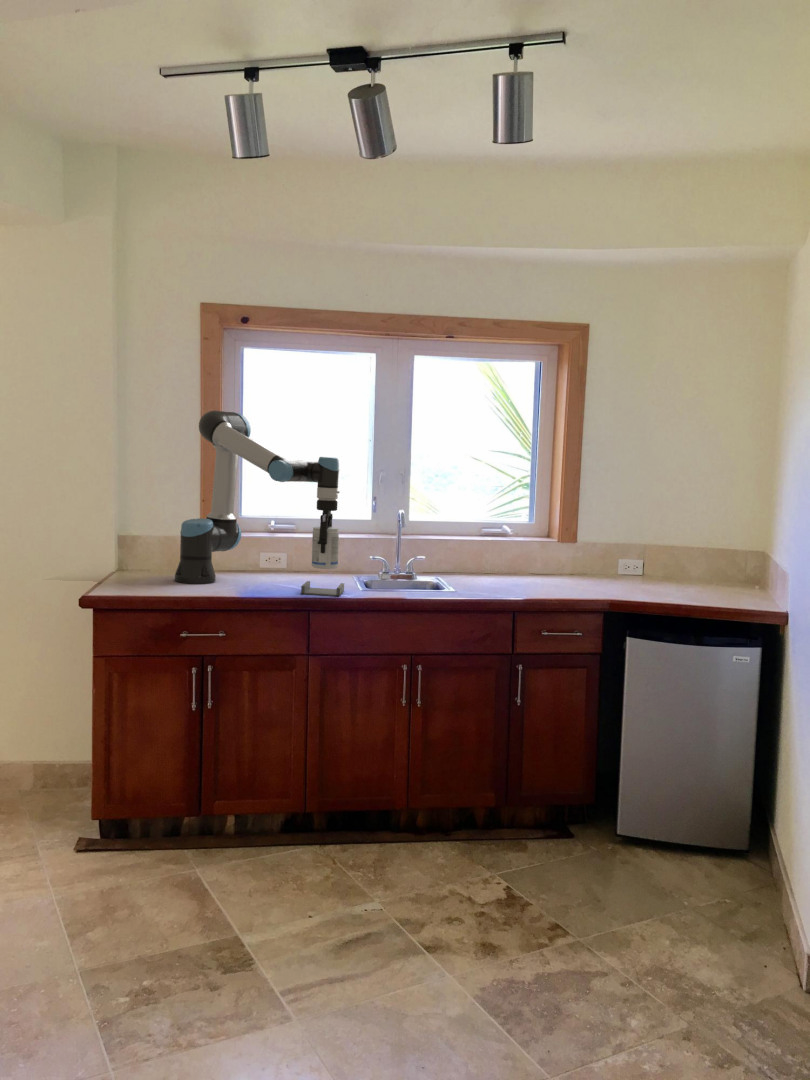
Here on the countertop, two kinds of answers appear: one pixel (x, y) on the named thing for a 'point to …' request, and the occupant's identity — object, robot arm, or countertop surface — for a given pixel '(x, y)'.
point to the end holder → (321, 590)
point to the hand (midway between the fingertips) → (324, 560)
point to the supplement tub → (331, 548)
